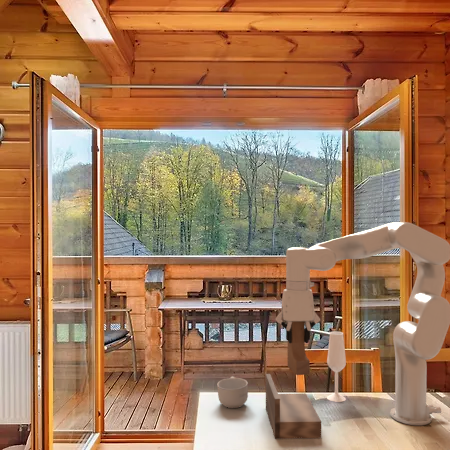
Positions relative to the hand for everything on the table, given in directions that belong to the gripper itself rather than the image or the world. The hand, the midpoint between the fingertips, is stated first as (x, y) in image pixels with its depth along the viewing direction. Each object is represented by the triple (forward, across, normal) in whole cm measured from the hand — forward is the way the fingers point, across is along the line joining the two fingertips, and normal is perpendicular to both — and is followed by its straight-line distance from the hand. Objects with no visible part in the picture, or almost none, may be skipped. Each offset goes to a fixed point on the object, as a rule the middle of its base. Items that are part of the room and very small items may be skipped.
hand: (297, 341), depth 148 cm
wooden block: (+10, 0, 0) cm, 10 cm away
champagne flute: (+26, -18, -19) cm, 37 cm away
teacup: (+26, +20, -16) cm, 37 cm away
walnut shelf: (+26, +2, 0) cm, 26 cm away
